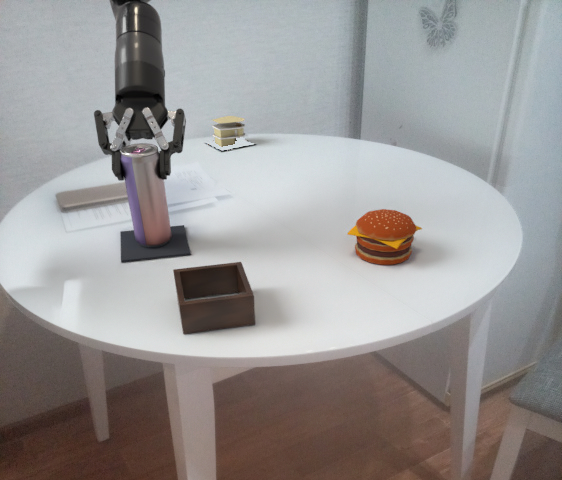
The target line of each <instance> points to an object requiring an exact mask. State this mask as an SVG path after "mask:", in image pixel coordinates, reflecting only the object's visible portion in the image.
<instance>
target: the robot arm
mask: <svg viewBox="0 0 562 480" xmlns="http://www.w3.org/2000/svg"><path fill="white" fill-rule="evenodd" d="M108 1H109V4H110V9H111V12H112V15H113V17H114V20H115V50H114V106H113V108H112V111H107V112H102V111H101V110H99V109H96V110H94V112H93V118H94V124H95V130H96V137H97V140H98V142H97V143H98V146H99V148H100V150H101V151H102V153H103V154H104V155H106V156H111V171H112V173H113V175H114V177H115V178H117V180H118V181H120V182H121V181H122V182H123V181H125V180H124V174H123V169H122V164H121V149H122V148H123V147H125V146H128V145H131V143H132V141H135V140H136V141H138V140H141V139H144V140H153V139H154V140H155V143H156V144H157V147H159V149H160V150H158V151H159V154H160V175H161V178H162V180H164V181H166V180H167V179H168V177H170V176H171V173H172V161H171V160H172V159H171V157H172V155H174V154H181V153H182V152H183V150H184V141H185V132H186V125H187V119H186V114H185V111H184V109H183V108H176V111H175V110H168V109H167V107H166V87H165V86H166V85H165V84H166V82H165V81H166V80H165V79H166V70H165V60H164V53H163V36H162V35H163V30H162V29H163V28H162V21H161V17H160V14H159V12H158V11H157V9H156V8H155V7H154V6H153V5H151V3H150V2H151V1H152V0H108ZM149 3H150V4H149ZM168 121H170V122H171V126H172V127H173V135H172V140H171V141H167V139H166V138H165V135H164V134H163V131H162V129H163V128H164V127H165V125H166V123H167V122H168ZM113 122H115V123H116V124H117V126H118V127H117V129H116V131H115V137H114V138H113V140H112V142H110V137H109V130H110V129H111V127H112V123H113Z"/></svg>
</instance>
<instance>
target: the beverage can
mask: <svg viewBox="0 0 562 480" xmlns="http://www.w3.org/2000/svg"><path fill="white" fill-rule="evenodd" d="M158 147H159V146H158V145H155V144H153V143H146V142H145V143H143V142H142V143H132V144H130V145H128V146H125V147H123V148H122V149H121V164H122V169H123V174H124V180H123V181H124V185H125V189H126V195H127V196H126V197H127V202H128V206H129V212H130V218H131V222H132V228H133V230H134V234H135V239H136V241H137V242H138V244H139V245H141V246H143V247H147V248H156V247H161V246H164V245H166V244H167V243H168V242H169V241H170V239H171V237H172V234H171V227H170V226H171V221H170V213H169V205H168V199H167V193H166V185H165V180H162V178H161V175H160V154H159V151H160V150H159V148H158Z"/></svg>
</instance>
